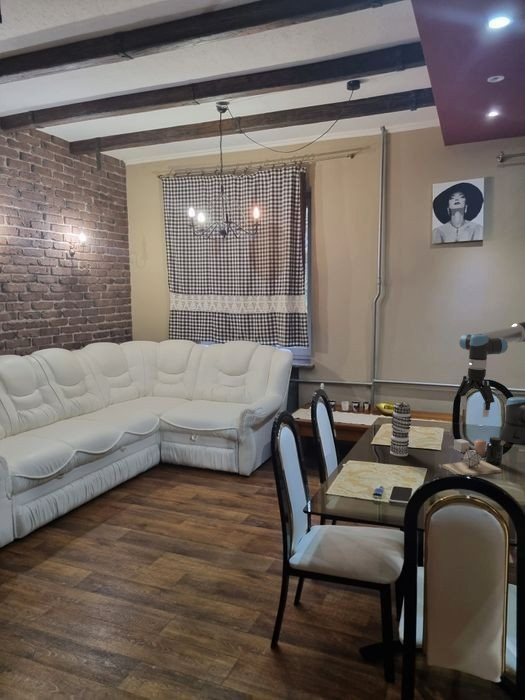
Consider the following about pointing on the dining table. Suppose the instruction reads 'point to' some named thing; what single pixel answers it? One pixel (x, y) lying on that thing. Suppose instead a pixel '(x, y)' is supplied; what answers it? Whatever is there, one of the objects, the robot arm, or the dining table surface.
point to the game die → (472, 458)
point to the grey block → (461, 445)
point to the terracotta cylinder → (480, 447)
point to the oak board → (471, 468)
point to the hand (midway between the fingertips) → (473, 412)
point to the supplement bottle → (494, 451)
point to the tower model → (400, 429)
